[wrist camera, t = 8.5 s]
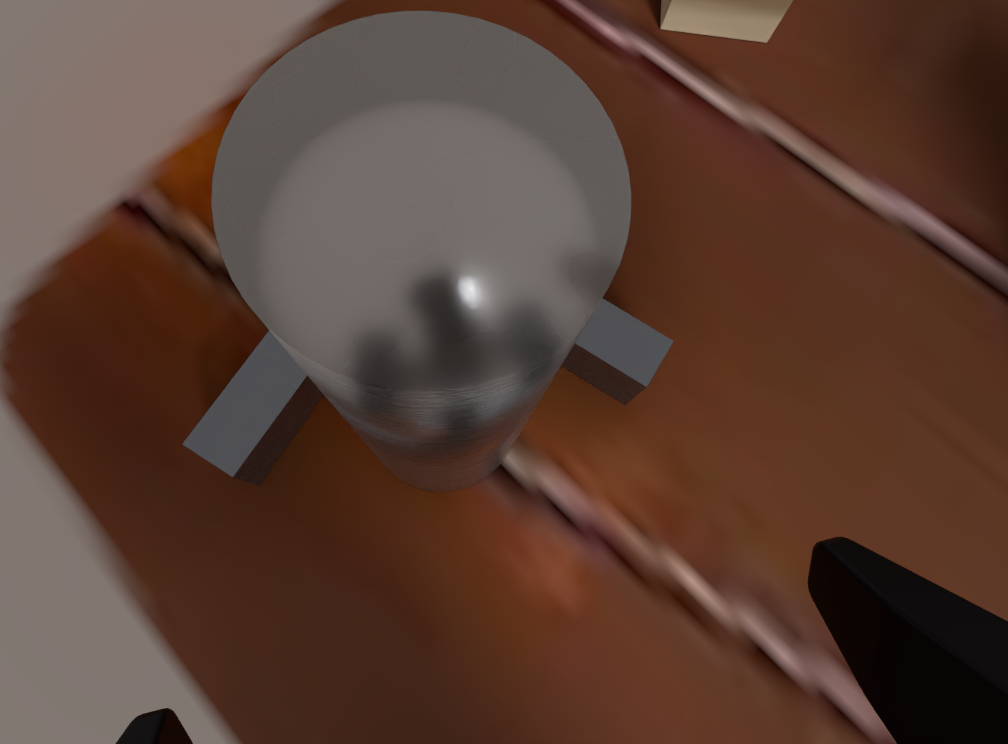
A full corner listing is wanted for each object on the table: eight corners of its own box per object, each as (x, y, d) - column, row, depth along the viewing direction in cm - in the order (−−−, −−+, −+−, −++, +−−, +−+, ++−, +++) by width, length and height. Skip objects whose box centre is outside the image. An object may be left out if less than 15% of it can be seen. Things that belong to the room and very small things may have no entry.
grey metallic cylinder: (469, 521, 20) (504, 471, 7) (337, 443, 21) (122, 250, 7) (543, 390, 22) (698, 129, 8) (417, 318, 22) (361, -52, 8)
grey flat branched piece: (658, 397, 22) (684, 379, 19) (219, 494, 20) (187, 487, 18) (587, 150, 24) (602, 105, 21) (181, 219, 22) (148, 179, 20)
